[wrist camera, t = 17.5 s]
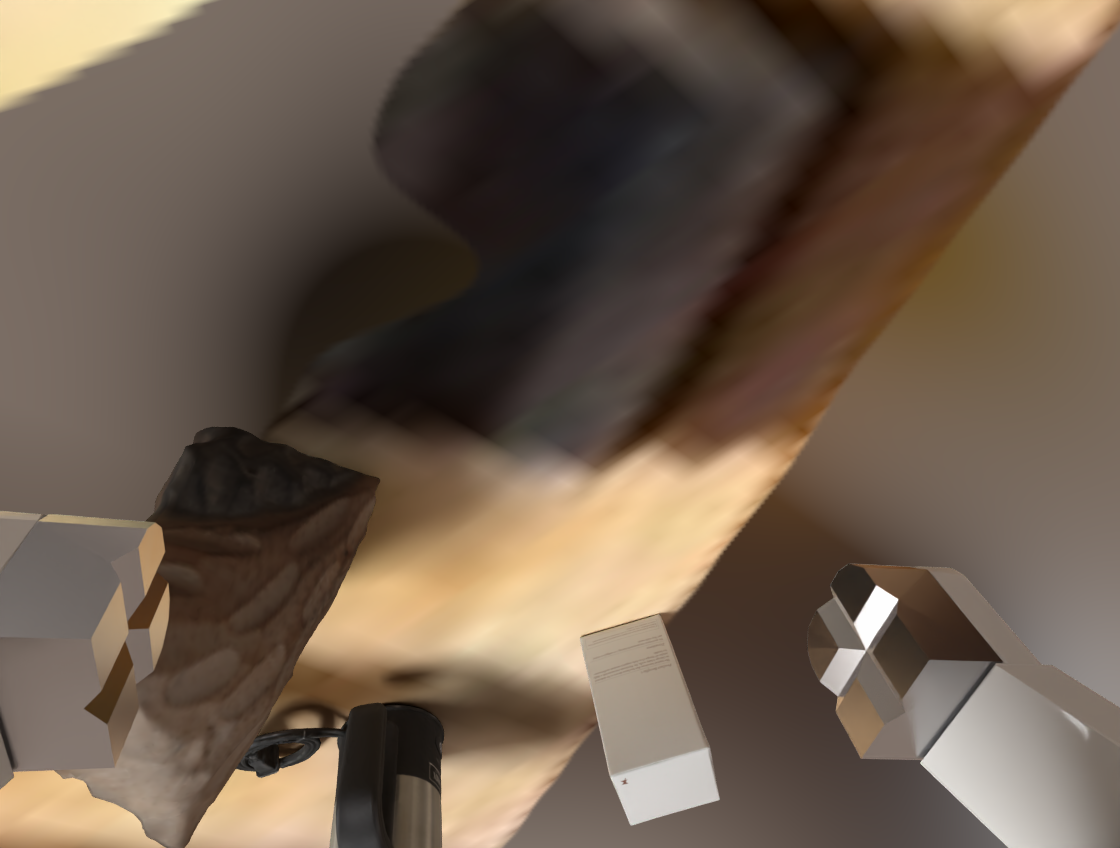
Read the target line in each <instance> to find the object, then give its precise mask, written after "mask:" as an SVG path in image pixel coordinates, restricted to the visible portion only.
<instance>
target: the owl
mask: <svg viewBox="0 0 1120 848" xmlns="http://www.w3.org/2000/svg"><path fill="white" fill-rule="evenodd" d="M379 482H380V480H379V479H378V478H376V477H371V476H368V475H364V474H362V473H359V472H357V471H353V470H350V469H347V468H343V467H341V466H338V465H336V464H334V463H332V462H330V461H327V460H324V459H321V458H315V457H311V456H307V455H305V454H302V453H300V452H298V451H297V450H296V449H294V448H292V447H290V446H288V445H283V444H275V443H268V442H265V441H262V440H260V439H259V438H257V437H256V436H254V435H253V434H251V433H249V432H247V431H244V430H241V429H237V428H235V427H210V428H206V429H203V430H201V431H199V432H197V433H196V435H195V437H194V442H193V444H192V445H189V446H186V447H185V449H184V452H183V454H182V456H181V457H180V459H179V461H178V462H177V464H176V466H175V468H174V469H173V471H172V473H171V475H170V477H169V478H168V480H167V482H166V483H165V484H164V486H163V488H162V490H161V491H160V493H159V494H158V496H157V499H156V501H155V510H154V513H153V515H151V516H150V517H149V518H148V519H147V520H146V521H145V522H155V523H157V524H158V525H159V526H160V527H162V532H163V539H164V546H165V553H164V555H163V558H162V560H161V562H160V564H159V567H158V569H157V571H156V572H157V573H159V574H160V575H161V576H162V577H163V578H164V579H165V580H166V581H167V582H168V585H169V597H170V603H169V620H168V625H167V629H166V634H165V639H164V643H163V648H162V650H161V653H160V656H159V658H158V661H157V664H156V666H155V669H154V671H153V672H152V673H150V674H149V675H148V676H146V677H145V678H144V679H142V680H141V681H140V682H138V683H137V684H136V688H137V696H138V704H139V709H138V712H137V714H136V717H135V719H134V722H133V724H132V727H131V729H130V732H129V734H128V737H127V739H126V741H125V744H124V746H123V749H122V751H121V754H120V756H119V759H118V761H117V764H116V766H115V768H97V769H71V770H54V771H55V772H57V773H58V774H59V775H60V776H61V777H62V778H63V779H66V778H76V779H79V780H83V781H84V782H85V783H86V784H87V787H88V789H89V791H90V793H91V795H92V796H93V797H95V798H99V799H102V800H105V801H108V802H111V803H114V804H117V805H118V806H120V807H122V808H124V809H126V810H128V811H130V812H131V813H133V814H134V815H135V816H136V817H137V818H138V819H139V820H140V821H141V823H142V828H143V829H144V831H145V834H146V836H147V837H148V838H150V839H153V840H155V841H157V842H158V843H160V844H161V845H163V846H164V847H166V848H185V846H186V845H187V844H188V843H189V841H190V839H191V836H192V835H193V832H194V831H195V829H196V827H197V825H198V823H199V822H200V820H201V819H202V817H203V815H204V814H205V812H206V810H207V809H208V807H209V806H210V805H211V804H212V803H213V802H214V801H215V799H216V798H217V796H218V794H219V793H220V792H221V790H222V789H223V787H224V786H225V784H226V783H227V781H228V780H229V778H230V777H231V775H232V773H233V772H234V771H235V769H236V767H237V766H238V764H239V763H240V761H241V759H242V758H243V757H244V755H245V754H246V752H247V751H248V749H249V748H250V746H251V745H252V744H253V741H254V740H255V738H256V737H257V735H258V734H259V732H260V730H261V728H262V726H263V725H264V723H265V721H266V720H267V718H268V716H269V714H270V712H271V709H272V707H273V706H274V704H275V702H276V701H277V699H278V697H279V696H280V694H281V692H282V690H283V688H284V687H285V685H286V683H287V682H288V681H289V680H290V679H291V677H292V676H293V669H294V666H295V664H296V662H297V660H298V658H299V656H300V654H301V653H302V651H303V649H304V647H305V645H306V644H307V642H308V640H309V639H310V637H311V636H312V635H313V633H314V631H315V630H316V628H317V626H318V624H319V623H320V622H321V620H322V619H323V618H324V616H325V615H326V613H327V612H328V610H329V608H330V607H331V605H332V603H333V601H334V599H335V597H336V595H337V593H338V590H339V588H340V586H341V584H342V582H343V580H344V578H345V576H346V573H347V571H348V570H349V568H350V565H351V563H352V560H353V558H354V556H355V554H356V551H357V547H358V546H359V544H360V543H361V541H362V540H363V539H364V537H365V535H366V531H367V524H368V521H369V518H370V516H371V515H372V512H373V509H374V506H375V502H376V497H375V491H376V488H377V486H378V484H379Z"/></svg>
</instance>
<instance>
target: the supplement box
mask: <svg viewBox="0 0 1120 848" xmlns="http://www.w3.org/2000/svg"><path fill="white" fill-rule="evenodd" d="M580 642H581V647H582V651H583V656H584V660H585V665H586V669H587V674H588V678H589V683H590V687H591V692H592V697H593V701H594V706H595V710H596V715H597V720H598V724H599V729H600V733H601V738H602V742H603V747H604V752H605V756H606V761H607V765H608V770H609V774H610V777H611V780H612V782H613V784H614V787H615V789H616V791H617V794H618V796H619V798H620V801H621V803H622V806H623V808H624V810H625V813H626V815H627V818H628V820H629V823H630V825H635V824H638V823H641V822H644V821H648V820H651V819H654V818H658V817H661V816H664V815H667V814H671V813H675V812H678V811H682V810H685V809H688V808H692V807H695V806H699V805H702V804H706V803H710V802H713V801H717V800H719V799H720V798H719V794H718V788H717V783H716V778H715V772H714V766H713V761H712V755H711V750H710V746H709V744H708V741H707V739H706V737H705V734H704V732H703V729H702V726H701V724H700V721H699V718H698V716H697V713H696V710H695V707H694V705H693V702H692V699H691V696H690V694H689V691H688V688H687V685H686V682H685V679H684V677H683V674H682V671H681V668H680V666H679V663H678V660H677V657H676V655H675V652H674V649H673V646H672V644H671V641H670V639H669V636H668V634H667V631H666V628H665V625H664V622H663V620H662V618H661V616H660V614H658V615H655V616H651V617H648V618H645V619H642V620H638V621H635V622H631V623H628V624H625V625H621V626H618V627H614V628H611V629H608V630H604V631H601V632H597V633H594V634H590V635H587V636H583V637H581V638H580Z"/></svg>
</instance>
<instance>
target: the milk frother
mask: <svg viewBox="0 0 1120 848" xmlns="http://www.w3.org/2000/svg"><path fill="white" fill-rule="evenodd" d="M320 737H338V739H337V744H338V748H339V763H338V776H337V788H336V797H335V807H334V814H333V822H332V830H331V838H330V847H329V848H442V815H441V759H442V743H443V740H444V730H443V727H442V725H441V723H440V721H439V720H438V719H437V718H436V717H435V716H433V715H432V714H430V713H429V712H427V711H425V710H422V709H420V708H416V707H411V706H404V705H388V706H384V705H383V704H381V703H372V704H365V705H360V706H357V707H354V708H353V709H352V710H351V711H350V714H349V719H348V721H347V722H346V723H345V724H344V725H343V726H342V728H341V729H335V728H305V729H291V730H282V731H276V732H271V733H267V734H263V735H260V736H257V737H256V738H255V740H254V741H253V744H252V745H251V746H250V748H249V749H248V751H247V752H246V754H245V755H244V757H243V758H242V759H241V761H240V763H239V764H238V766H237V767H236V769H239V770H244V771H256V775H257V776H258V777H261V778H262V777H265V776H268V775H271V774H274V773H277V772H278V771H279V768H285V767H288V766H292V765H295V764H298V763H300V762H303V761H305V760H307V759H308V758H310V757H311V756H312V755H313V754H314V753H315V752H316V751H317V750H318V749H319V747H320V744H321V742H320ZM293 742H296V743H302V744H305V745H304V746H303V747H302V748H301V749H300V750H298V751H297V752H295V753H293V754H290V755H288V756H286V757H283V758H279V748H278V745H277V744H284V743H293Z"/></svg>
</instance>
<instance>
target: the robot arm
mask: <svg viewBox="0 0 1120 848" xmlns="http://www.w3.org/2000/svg"><path fill="white" fill-rule="evenodd" d="M164 553H165V546H164V539H163V532H162V527H160V526H159V525H158V524H157V523H155V522H143V521H131V520H119V519H106V518H94V517H81V516H69V515H56V514H49V515H42V514H31V513H18V512H7V511H0V789H1V788H2V787H3V786H5V785H6V784H7V783H8V782H9V781H10V780H11V779H12V778H14V774H13V772H18V771H44V770H71V769H97V768H115V766H116V764H117V761H118V759H119V756H120V754H121V751H122V749H123V746H124V744H125V741H126V739H127V737H128V734H129V732H130V729H131V727H132V724H133V722H134V719H135V717H136V714H137V712H138V709H139V704H138V696H137V688H136V684H137V683H138V682H140V681H141V680H142V679H144V678H145V677H146V676H148V675H149V674H150V673H152V672H153V671H154V669H155V666H156V664H157V661H158V658H159V656H160V653H161V650H162V648H163V643H164V639H165V634H166V629H167V625H168V620H169V603H170V597H169V585H168V582H167V581H166V580H165V579H164V578H163V577H162V576H161V575H160V574H159V573H157V572H156V571H157V569H158V567H159V564H160V562H161V560H162V558H163V555H164ZM830 586H831V590H832V593H833V597H834V598H833V599H832V600H830V601H829V602H827V603H826V604H824V605H823V606H822V607H820V608H819V609H818V610H817V611H816V613H815V615H814V617H813V619H812V621H811V623H810V625H809V627H808V641H807V650H808V654H809V658H810V662H811V665H812V667H813V669H814V671H815V673H816V675H817V677H818V679H819V681H820V682H821V683H822V684H823V685H825V686H826V687H827V688H828V689H830V690H831V691H832V692H833V693H835V694H836V695H837V696H838V701H837V707H836V713H837V715H838V717H839V718H840V720H841V722H842V724H843V726H844V728H845V730H846V731H847V733H848V735H849V737H850V739H851V741H852V742H853V744H854V746H855V748H856V750H857V752H858V754H859V755H860V757H861V759H903V760H905V759H907V760H922V762H921V763H920V764H921V765H923V766H924V767H925V768H926V769H927V770H928V771H929V772H930V773H931V774H932V775H933V776H934V777H935V778H936V779H937V780H938V781H939V782H940V783H941V784H942V785H943V786H944V787H946V788H947V789H948V790H949V791H950V792H951V793H952V794H953V795H954V796H955V797H956V798H957V799H958V800H959V801H960V802H961V803H962V804H963V805H964V806H965V807H967V809H968V810H970V811H971V812H972V813H973V814H974V815H975V816H976V817H977V818H978V819H979V820H980V821H981V822H982V823H983V824H984V825H985V826H986V827H987V828H988V829H989V830H991V831H992V832H993V833H994V834H995V835H996V836H997V837H998V838H999V839H1000V840H1001V841H1002V842H1003V843H1004V844H1005V845H1006V846H1007V847H1008V848H1120V708H1119V707H1118V706H1116V705H1115V704H1113V703H1112V702H1110V701H1108V700H1107V699H1105V698H1103V697H1102V696H1100V695H1099V694H1097V693H1096V692H1094V691H1092V690H1091V689H1089V688H1088V687H1086V686H1084V685H1083V684H1081V683H1080V682H1078V681H1077V680H1075V679H1073V678H1072V677H1070V676H1068V675H1067V674H1065V673H1064V672H1062V671H1061V670H1059V669H1057V668H1056V667H1054V666H1053V665H1042V664H1041V663H1040V662H1039V661H1038V660H1037V659H1036V657H1035V656H1034V655H1033V654H1032V653H1031V652H1030V650H1029V649H1028V648H1027V647H1026V646H1025V645H1024V644H1023V642H1022V641H1021V640H1020V639H1019V638H1018V637H1017V636H1016V634H1015V633H1014V632H1013V631H1012V630H1011V629H1010V627H1009V626H1008V625H1007V624H1006V623H1005V622H1004V621H1003V619H1002V618H1001V617H1000V616H999V615H998V614H997V613H996V611H995V610H994V609H993V608H992V607H991V606H990V604H989V603H988V602H987V601H986V600H985V599H984V598H983V596H982V595H981V594H980V593H979V592H978V591H977V589H976V588H975V587H974V586H973V585H972V584H971V583H970V582H969V581H968V579H967V578H966V577H965V576H964V575H963V574H961V573H959V572H958V571H956V570H954V569H952V568H944V567H906V566H886V565H867V564H848V565H846V566H845V567H844V568H842V569H841V570H839V571H838V573H837V574H836V576H835V578H834V580H833V582H832V583H831V585H830Z"/></svg>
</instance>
